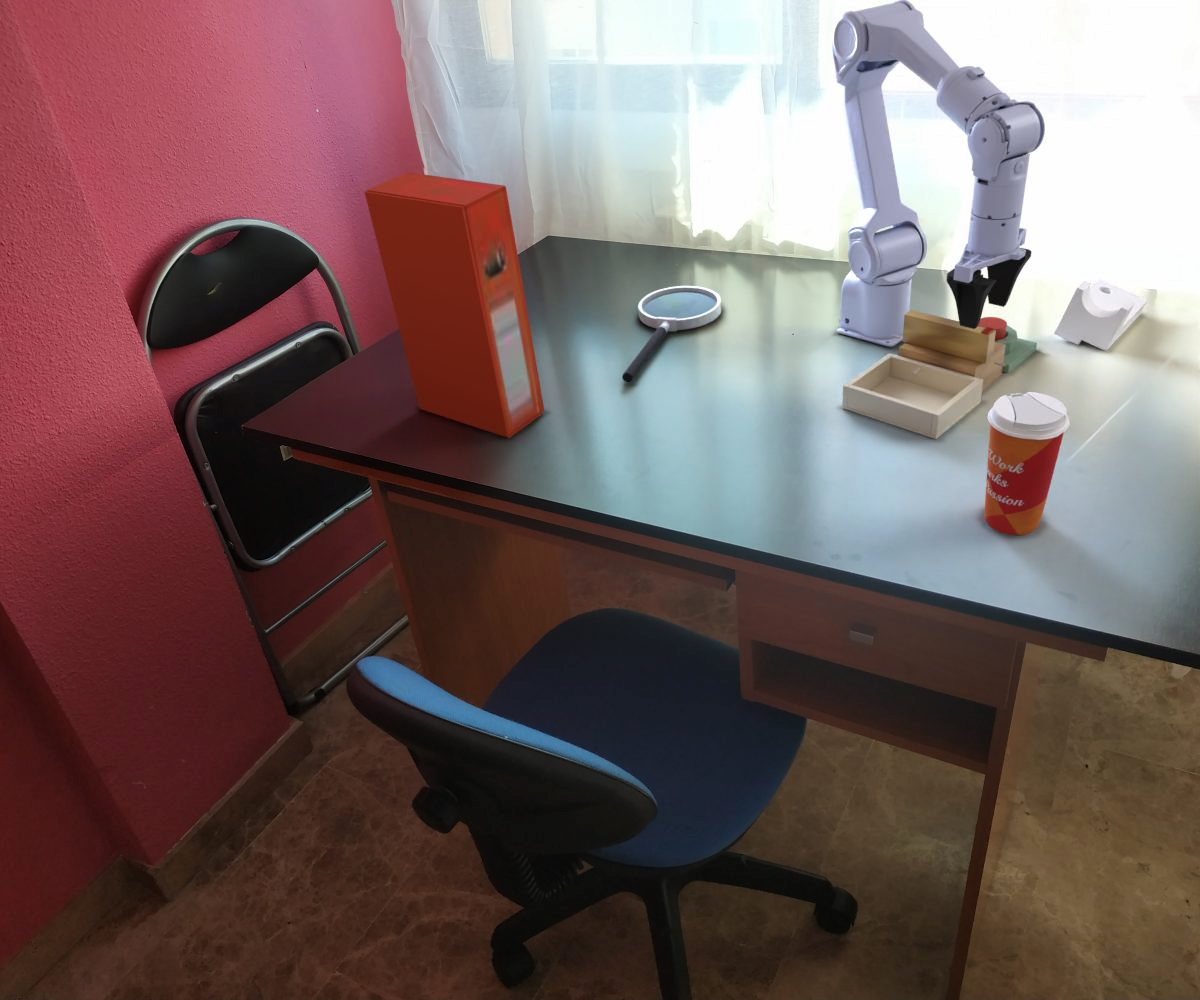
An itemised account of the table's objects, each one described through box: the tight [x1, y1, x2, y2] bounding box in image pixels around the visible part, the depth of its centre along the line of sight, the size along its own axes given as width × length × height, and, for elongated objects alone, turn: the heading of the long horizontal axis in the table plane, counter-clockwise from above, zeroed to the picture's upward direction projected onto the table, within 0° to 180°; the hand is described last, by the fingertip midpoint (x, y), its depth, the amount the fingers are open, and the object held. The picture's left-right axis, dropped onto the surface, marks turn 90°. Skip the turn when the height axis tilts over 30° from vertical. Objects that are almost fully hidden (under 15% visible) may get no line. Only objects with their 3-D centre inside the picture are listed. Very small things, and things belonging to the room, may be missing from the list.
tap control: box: [995, 325, 1038, 374], centre depth 137 cm, size 10×8×3 cm
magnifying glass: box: [622, 285, 722, 384], centre depth 153 cm, size 13×31×2 cm, turn 158°
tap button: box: [978, 316, 1008, 341], centre depth 136 cm, size 4×4×2 cm
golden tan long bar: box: [901, 309, 996, 364], centre depth 129 cm, size 12×2×4 cm, turn 45°
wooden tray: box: [841, 352, 983, 440], centre depth 128 cm, size 14×11×3 cm
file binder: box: [363, 171, 545, 439], centre depth 131 cm, size 8×17×32 cm, turn 52°
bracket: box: [1053, 278, 1149, 351], centre depth 138 cm, size 13×7×8 cm, turn 138°
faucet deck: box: [891, 334, 1006, 391], centre depth 132 cm, size 16×16×5 cm
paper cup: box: [984, 391, 1070, 536], centre depth 103 cm, size 8×8×14 cm
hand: (983, 315), depth 127 cm, fingers open, 7 cm apart
